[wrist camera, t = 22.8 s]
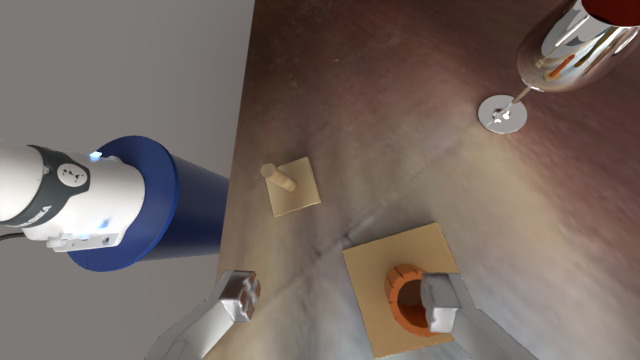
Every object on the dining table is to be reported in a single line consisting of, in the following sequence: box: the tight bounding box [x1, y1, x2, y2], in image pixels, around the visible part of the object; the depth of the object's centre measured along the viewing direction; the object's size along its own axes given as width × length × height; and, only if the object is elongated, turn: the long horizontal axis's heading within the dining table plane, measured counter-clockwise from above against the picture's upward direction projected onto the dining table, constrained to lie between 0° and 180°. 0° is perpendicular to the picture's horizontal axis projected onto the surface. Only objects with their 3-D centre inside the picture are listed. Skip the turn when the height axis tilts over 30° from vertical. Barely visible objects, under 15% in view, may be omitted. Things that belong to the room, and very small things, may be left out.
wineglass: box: [478, 0, 640, 134], centre depth 26 cm, size 8×8×18 cm
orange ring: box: [385, 264, 439, 337], centre depth 27 cm, size 6×6×8 cm
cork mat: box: [342, 222, 460, 359], centre depth 32 cm, size 14×14×1 cm
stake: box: [261, 156, 321, 217], centre depth 34 cm, size 8×8×10 cm
